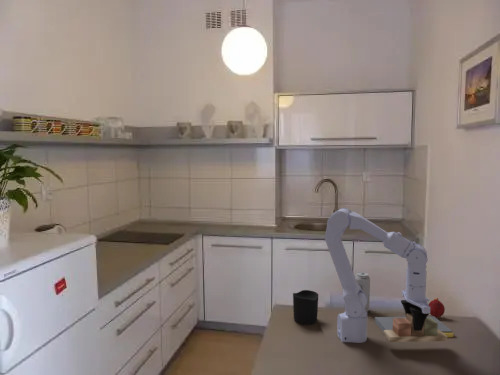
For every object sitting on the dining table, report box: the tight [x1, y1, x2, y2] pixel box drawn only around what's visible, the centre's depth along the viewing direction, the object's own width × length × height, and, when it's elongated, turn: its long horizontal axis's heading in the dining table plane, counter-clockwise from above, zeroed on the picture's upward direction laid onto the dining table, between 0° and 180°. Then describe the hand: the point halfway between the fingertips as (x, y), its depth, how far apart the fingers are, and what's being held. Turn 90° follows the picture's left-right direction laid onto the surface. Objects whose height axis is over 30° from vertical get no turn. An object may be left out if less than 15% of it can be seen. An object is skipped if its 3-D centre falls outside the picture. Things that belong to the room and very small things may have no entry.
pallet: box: [382, 313, 448, 343], centre depth 117 cm, size 18×5×7 cm, turn 92°
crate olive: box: [424, 318, 438, 336], centre depth 117 cm, size 4×4×4 cm
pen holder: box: [292, 289, 319, 325], centre depth 140 cm, size 9×9×10 cm
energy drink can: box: [354, 271, 371, 313], centre depth 149 cm, size 6×6×15 cm
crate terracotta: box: [393, 318, 411, 336], centre depth 117 cm, size 4×4×4 cm
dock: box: [374, 315, 454, 338], centre depth 132 cm, size 22×13×2 cm, turn 92°
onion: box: [428, 297, 446, 319], centre depth 142 cm, size 6×6×8 cm
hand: (414, 326), depth 117 cm, fingers closed on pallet, 4 cm apart
